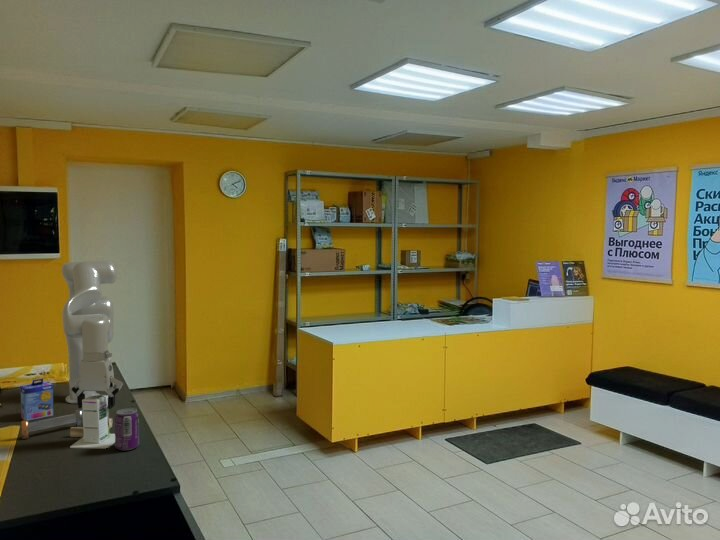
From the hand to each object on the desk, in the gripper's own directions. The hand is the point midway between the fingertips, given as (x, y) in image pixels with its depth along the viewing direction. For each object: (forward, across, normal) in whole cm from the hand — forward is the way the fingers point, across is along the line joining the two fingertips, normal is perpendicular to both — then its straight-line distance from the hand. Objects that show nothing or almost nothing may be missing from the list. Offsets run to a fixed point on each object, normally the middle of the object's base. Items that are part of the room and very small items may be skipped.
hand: (96, 407), depth 188 cm
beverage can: (+11, -12, +6) cm, 18 cm away
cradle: (+12, +7, -8) cm, 16 cm away
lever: (+11, +18, -7) cm, 22 cm away
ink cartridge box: (+12, +33, -22) cm, 42 cm away
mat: (+11, 0, +1) cm, 11 cm away
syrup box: (+11, 0, 0) cm, 11 cm away
